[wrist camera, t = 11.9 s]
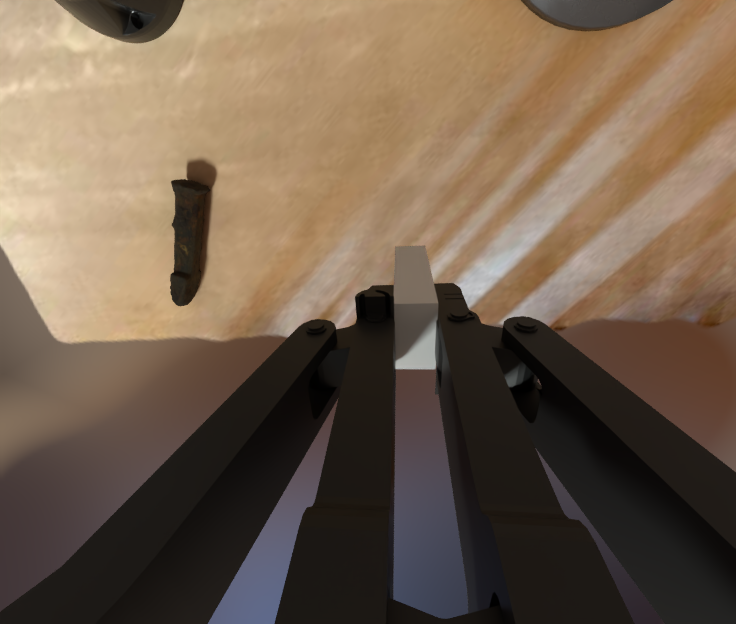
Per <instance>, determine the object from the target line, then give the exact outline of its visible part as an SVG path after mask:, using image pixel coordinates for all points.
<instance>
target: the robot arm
mask: <svg viewBox="0 0 736 624" xmlns="http://www.w3.org/2000/svg"><path fill="white" fill-rule="evenodd" d="M55 1H56V2H57V3H58V4H60V5H61V6H62V7H63V8H64V9H66V10H67V11H68V12H69V13H71V14H72V15H73V16H74V17H75V18H77V19H78V20H79V21H80V22H82V23H83V24H85V25H86V26H88V27H89V28H91V29H93V30H95V31H97V32H99V33H101V34H103V35H106V36H109V37H111V38H114V39H117V40H120V41H124V42H129V43H144V42H149V41H152V40H154V39H156V38H158V37H160V36H161V35H162V34H164V33H165V32H166V31H167V30H168V29H169V28H170V27H171V25H172V24H173V23H174V21H175V19H176V17H177V15H178V13H179V11H180V8H181V5H182V2H183V0H55ZM355 301H356V313H357V320H356V324H354V325H352V326H350V327H346V328H342V329H336V327H335V324H334V323H332V322H331V321H328V320H320V319H315V320H311V321H308V322H306V323H303V324H302V325H301V326H299V327H298V328H297V329H296V330H295V331H294V332H293V333H292V334H291V335H290V336H289V337H288V338H287V339H286V340H285V342H283V343H282V344H281V345H280V346H279V347H278V349H276V350H275V351H274V352H273V353H272V355H271V356H269V358H267V359H266V361H265V362H264V363H263V364H262V365H261V366H260V367H259V368H258V369H257V370H256V371H255V372H254V373H253V374H252V375H251V376H250V377H249V378H248V379H247V380H246V381H245V382H244V383H243V384H242V385H241V386H240V387H239V388H238V389H237V390H236V391H235V392H234V393H233V394H232V395H231V396H230V397H229V398H228V399H227V400H226V401H225V402H224V403H223V404H222V405H221V406H220V407H219V408H218V409H217V410H216V411H215V412H214V413H213V414H212V415H211V416H210V417H209V418H208V419H207V420H206V421H205V422H204V423H203V424H202V425H201V426H200V427H199V428H198V429H197V430H196V431H195V432H194V433H193V434H192V435H191V436H190V437H189V438H188V439H187V440H186V441H185V442H184V443H183V444H182V445H181V447H179V448H178V449H177V450H176V451H175V452H174V453H173V455H171V457H170V458H169V459H168V460H167V461H166V462H165V463H164V464H163V465H162V466H161V467H160V468H159V469H158V470H157V471H156V472H155V473H154V474H153V475H152V476H151V477H150V478H149V479H148V480H147V481H146V482H145V483H144V484H143V485H142V486H141V487H140V488H139V489H138V490H137V491H136V492H135V493H134V494H133V495H132V496H131V497H130V498H129V499H128V500H127V501H126V502H125V503H124V504H123V505H122V506H121V507H120V508H119V509H118V510H117V511H116V512H115V513H114V514H113V515H112V516H111V517H110V518H109V519H108V520H107V521H106V522H105V523H104V524H103V525H102V526H101V527H100V528H99V529H98V530H97V531H96V532H95V533H94V534H93V535H92V536H91V537H90V538H89V539H88V540H87V541H86V542H85V544H83V546H82V547H81V548H80V549H79V550H77V552H76V553H75V554H74V555H73V556H72V557H71V558H70V559H69V560H68V561H67V562H66V563H65V564H64V565H63V566H62V567H60V568H59V569H58V570H56V571H55V572H54V573H52V574H51V575H50V576H48V577H47V578H45V579H44V580H43V581H41V582H40V583H39V584H37V585H36V586H35V587H33V588H32V589H30V590H29V591H28V592H26V593H25V594H24V595H22V596H21V597H20V598H19V599H17V600H16V601H14V602H13V603H12V604H10V605H9V606H7V607H6V608H5V609H3V610H2V611H1V612H0V624H208V622H209V620H210V619H211V617H212V615H213V613H214V611H215V610H216V608H217V606H218V605H219V603H220V601H221V600H222V598H223V596H224V594H225V593H226V591H227V589H228V587H229V586H230V584H231V582H232V581H233V579H234V577H235V575H236V574H237V572H238V570H239V568H240V567H241V565H242V563H243V561H244V560H245V558H246V556H247V555H248V553H249V551H250V549H251V548H252V546H253V544H254V543H255V541H256V539H257V537H258V536H259V534H260V532H261V530H262V529H263V527H264V525H265V524H266V522H267V520H268V518H269V517H270V514H271V513H272V511H273V510H274V508H275V506H276V505H277V503H278V501H279V499H280V498H281V496H282V494H283V492H284V491H285V489H286V487H287V486H288V484H289V482H290V480H291V479H292V477H293V475H294V473H295V472H296V470H297V468H298V466H299V465H300V463H301V461H302V460H303V458H304V456H305V455H306V452H307V451H308V449H309V448H310V446H311V444H312V442H313V441H314V439H315V437H316V436H317V434H318V432H319V430H320V428H321V427H322V425H323V423H324V422H325V420H326V418H327V416H328V415H329V413H330V411H331V410H332V408H333V406H334V404H335V403H336V401H337V399H338V398H339V399H338V403H337V407H336V412H335V416H334V420H333V425H332V429H331V434H330V438H329V443H328V447H327V451H326V456H325V460H324V464H323V469H322V473H321V477H320V482H319V486H318V491H317V495H316V499H315V503H314V504H313V506H312V507H307V508H306V510H305V512H304V514H303V516H302V520H301V523H300V526H299V530H298V534H297V538H296V541H295V545H294V549H293V553H292V557H291V561H290V565H289V569H288V574H287V577H286V581H285V585H284V589H283V593H282V597H281V601H280V604H279V608H278V613H277V616H276V620H275V624H634V622H633V620H632V618H631V616H630V614H629V611H628V609H627V607H626V605H625V603H624V601H623V599H622V597H621V595H620V593H619V591H618V589H617V587H616V584H615V582H614V580H613V578H612V576H611V574H610V572H609V570H608V568H607V566H606V564H605V562H604V560H603V557H602V555H601V553H600V551H599V549H598V547H597V545H596V543H595V541H594V539H593V538H592V536H591V534H590V533H589V531H588V529H587V528H586V527H585V526H584V525H583V524H582V523H581V522H580V521H579V520H574V519H569V518H568V517H567V516H566V515H565V514H564V512H563V510H562V509H561V506H560V504H559V502H558V500H557V497H556V495H555V493H554V490H553V488H552V486H551V483H550V481H549V479H548V477H547V474H546V472H545V470H544V467H543V465H542V462H541V460H540V458H539V456H538V453H537V451H536V449H537V450H538V452H539V453H540V454H541V456H542V457H543V459H544V460H545V461H546V463H547V464H548V465H549V467H550V468H551V469H552V471H553V472H554V474H555V475H556V476H557V478H558V479H559V480H560V482H561V483H562V484H563V486H564V487H565V489H566V490H567V491H568V493H569V494H570V495H571V497H572V498H573V499H574V501H575V502H576V503H577V505H578V506H579V507H580V509H581V510H582V512H583V513H584V514H585V516H586V517H587V518H588V520H589V521H590V523H591V524H592V525H593V526H594V528H595V529H596V531H597V532H598V533H599V535H600V536H601V537H602V539H603V540H604V541H605V543H606V544H607V546H608V547H609V548H610V550H611V551H612V552H613V554H614V555H615V557H616V558H617V559H618V561H619V562H620V563H621V565H622V566H623V567H624V569H625V570H626V571H627V573H628V574H629V575H630V577H631V578H632V579H633V581H634V582H635V584H636V585H637V586H638V588H639V589H640V591H641V592H642V593H643V595H644V596H645V597H646V599H647V600H648V601H649V603H650V604H651V605H652V607H653V608H654V610H655V611H656V612H657V614H658V615H659V616H660V618H661V619H662V620H663V622H664V623H665V624H736V472H734V471H733V470H732V469H731V468H729V467H728V466H727V465H725V464H724V463H723V462H722V461H720V460H719V459H718V458H717V457H715V456H714V455H713V454H711V453H710V452H709V451H708V450H706V449H705V448H704V447H702V446H701V445H700V444H699V443H697V442H696V441H695V440H693V439H692V438H691V437H690V436H688V435H687V434H686V433H684V432H683V431H682V430H681V429H679V428H678V427H677V426H675V425H674V424H673V423H671V422H670V421H669V420H668V419H666V418H665V417H664V416H663V415H661V414H660V413H659V412H657V411H656V410H655V409H653V408H652V407H651V406H650V405H648V404H647V403H646V402H644V401H643V400H642V399H641V398H639V397H638V396H637V395H636V394H634V393H633V392H632V391H630V390H629V389H628V388H627V387H625V386H624V385H622V384H621V383H620V382H619V381H618V380H616V379H615V378H614V377H612V376H611V375H610V374H609V373H607V372H606V371H605V370H603V369H602V368H601V367H600V366H598V365H597V364H596V363H594V362H593V361H592V360H590V359H589V358H588V357H587V356H585V355H584V354H583V353H582V352H580V351H579V350H578V349H576V348H575V347H574V346H572V345H571V344H570V343H568V342H567V341H566V340H565V339H563V338H562V337H561V336H560V335H558V334H557V333H556V332H555V331H553V330H552V329H551V328H549V327H548V326H547V325H546V324H544V323H542V322H540V321H539V320H536V319H532V318H530V317H523V316H521V317H512V318H509V319H507V320H506V321H504V325H503V328H500V327H493V326H488V325H485V324H482V323H481V321H480V319H479V317H478V316H477V314H476V313H474V312H472V311H470V310H469V309H468V306H467V304H466V301H465V299H464V296H463V295H462V291H461V289H460V288H459V287H458V286H457V285H455V284H454V283H440V284H434V282H433V278H432V274H431V269H430V265H429V261H428V256H427V252H426V248H425V246H398V247H395V270H394V285H378V286H371V287H370V288H369V289H368V290H364V291H361V292H360V293H358V294H357V295H356V296H355ZM435 364H436V365H437V369H436V388H435V394H439V400H440V408H441V415H442V422H443V428H444V435H445V442H446V449H447V455H448V462H449V468H450V476H451V483H452V488H453V496H454V503H455V510H456V516H457V523H458V530H459V537H460V544H461V551H462V557H463V564H464V571H465V578H466V585H467V595H468V614H465V615H461V616H457V617H453V618H450V619H441V618H438V617H435V616H433V615H430V614H427V613H425V612H423V611H420V610H418V609H415V608H413V607H410V606H408V605H406V604H403V603H401V602H398V601H395V600H393V568H394V479H395V478H394V476H395V388H396V373H395V372H396V371H395V369H435ZM538 379H539V381H540V383H541V385H540V384H539V383H538V382H537V381H538ZM535 448H536V449H535Z"/></svg>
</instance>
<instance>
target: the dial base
mask: <svg viewBox="0 0 736 624" xmlns="http://www.w3.org/2000/svg"><path fill="white" fill-rule="evenodd" d="M521 1H522V2H523V3H524V4H525V5H526V6H527V7H528V8H529V10H531V11H532V12H533V13H535V14H536V15H537V16H539V17H540V18H541V19H543V20H545V21H547V22H549V23H551V24H553V25H555V26H559V27H562V28H566V29H569V30H578V31H599V30H605V29H610V28H615V27H618V26H621V25H624V24H627V23H630V22H633V21H635V20H637V19H639V18H641V17H643V16H645V15H647V14H649V13H651V12H653V11H655V10H658V9H660V8H662V7H663V6H665V5H666V4H668V3H670V2H671V1H673V0H521Z"/></svg>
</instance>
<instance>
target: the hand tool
mask: <svg viewBox="0 0 736 624" xmlns="http://www.w3.org/2000/svg"><path fill="white" fill-rule="evenodd" d="M171 183H172V187H173V191H174V192H175V217H174V220H173V223H172V226H173V228H174V229H175V245H174V260H175V264H174V273H172V274H171V277H170V281H171V286H170V289H171V295H172V300H173V302H174V303H175V304H176V305H178V306H185V305H188V304H189V303H190V302H191V301H192V299H193V297H194V296H195V293H196V291H197V288H198V283H199V280H200V276H201V271H200V270H199V260H200V251H201V238H202V230H203V222H204V218H203V216H204V200H205V195H206V193H207V192H208V191H210V189H209V187H208V186H205V185H202V184H200V183H198V182H195V181H190V180H186V179H184V180H182V179H181V180H173V181H171Z"/></svg>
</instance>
